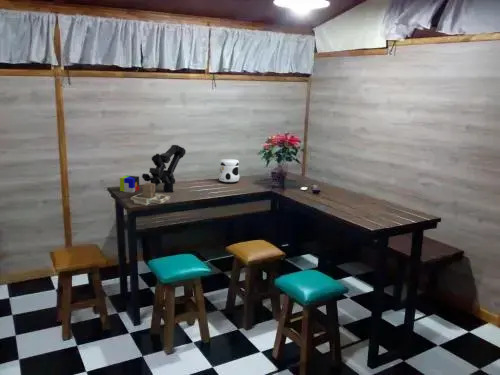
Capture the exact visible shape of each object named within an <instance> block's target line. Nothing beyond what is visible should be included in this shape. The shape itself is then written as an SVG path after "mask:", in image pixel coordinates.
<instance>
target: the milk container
mask: <svg viewBox="0 0 500 375" xmlns="http://www.w3.org/2000/svg"><path fill="white" fill-rule="evenodd" d="M239 165H240V161H239V160H238V159H235V158H224V159H223V158H221V159H220V160H219V172H218V181H219V182H221V183H226V184H227V183H228V184H234V183H237V182H239V181H240V177H241V176H240V172H239V169H240V166H239Z"/></svg>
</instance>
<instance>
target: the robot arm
mask: <svg viewBox="0 0 500 375" xmlns="http://www.w3.org/2000/svg"><path fill="white" fill-rule="evenodd" d="M186 152H187V151H186V149H185V147H182V146H180V145H178V144H172V145H171V146H170V147H169V148H168V149H167V150H166V151H165V152H164V153H161V154H160V153H156V154H154V155H152V156H151V161H152V162H153V164H154V165H155V167H149V173H150V175H149V173H142V174H141V178H142V179H143V181H145V182H150V183H153V184H155V187H157V186H159V185H160V184H163V185H162V190H163V192H164V193H174V192H175V191H174V185H175V184H176V179H175V176H174V173H175V170H176V168H177V166H178V163H179V161H180V159H182V158H183V157H184V156H185V155H186V154H187V153H186ZM171 157H172V159H171ZM169 163H170V164H169ZM166 164H169V165H168V168H167V166H166Z"/></svg>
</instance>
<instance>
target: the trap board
mask: <svg viewBox="0 0 500 375" xmlns="http://www.w3.org/2000/svg"><path fill="white" fill-rule="evenodd" d="M170 199H171V196H170V195H165V194H164V193H157V192H155V197H154V198H151V199H149V198H143V192H140V193H137V194H135V195H133V196H130V201H133V204H135V205H142V206H143V205H144V206H147V205H149V204H152V203H153V204H159V205H160V204H163V203H164V202H167V201H169V200H170Z"/></svg>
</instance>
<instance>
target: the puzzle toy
mask: <svg viewBox="0 0 500 375" xmlns="http://www.w3.org/2000/svg"><path fill="white" fill-rule="evenodd" d="M139 190H140V176H137V175H124V176H122V177H119V192H120V191H123V193H133V194H134V193H135V191H136V192H137V191H139Z"/></svg>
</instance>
